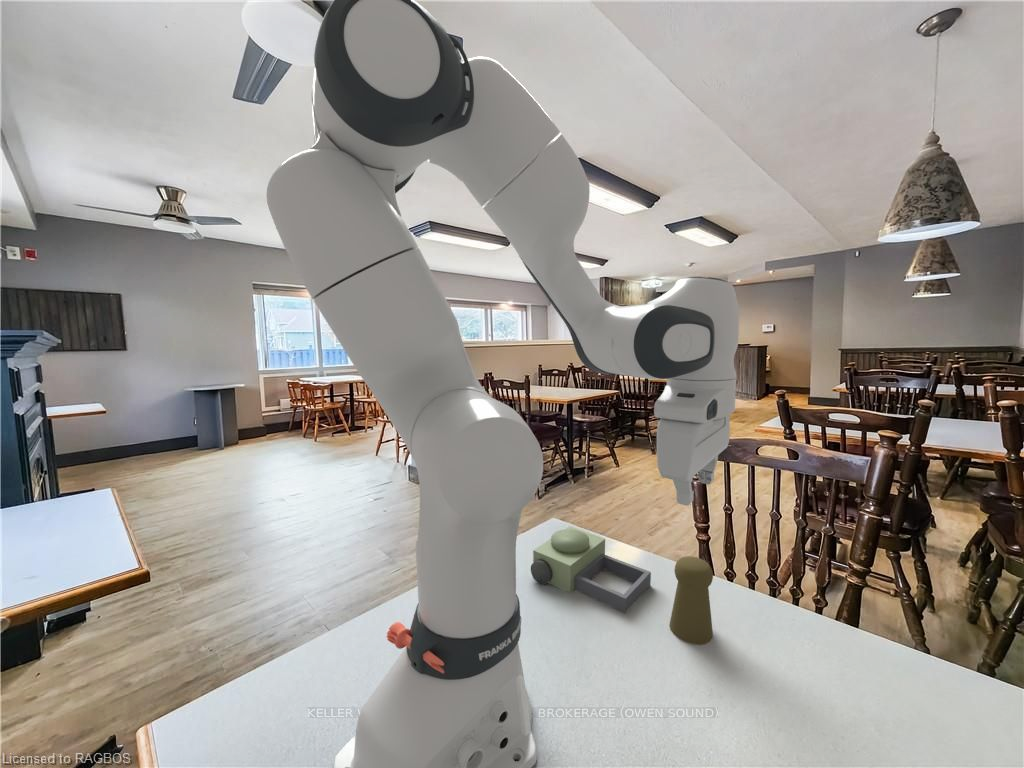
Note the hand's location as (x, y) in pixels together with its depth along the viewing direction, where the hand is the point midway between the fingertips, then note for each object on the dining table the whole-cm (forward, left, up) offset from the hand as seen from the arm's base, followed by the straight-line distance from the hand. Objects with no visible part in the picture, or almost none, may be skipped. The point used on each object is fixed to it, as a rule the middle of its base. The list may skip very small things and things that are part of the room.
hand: (696, 492), depth 62 cm
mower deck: (+2, +18, -22) cm, 28 cm away
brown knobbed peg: (0, 0, -22) cm, 22 cm away
